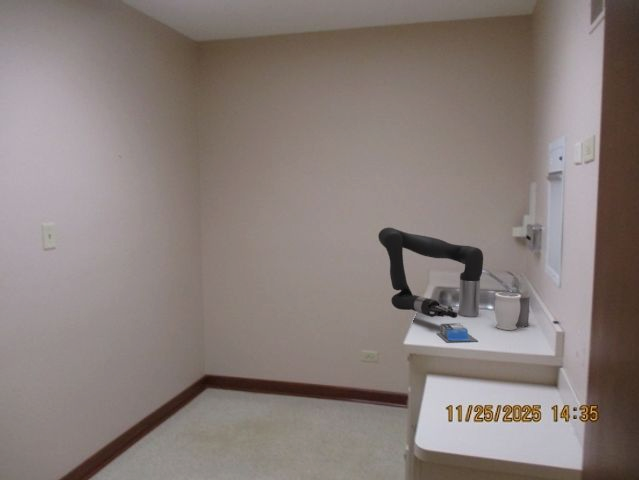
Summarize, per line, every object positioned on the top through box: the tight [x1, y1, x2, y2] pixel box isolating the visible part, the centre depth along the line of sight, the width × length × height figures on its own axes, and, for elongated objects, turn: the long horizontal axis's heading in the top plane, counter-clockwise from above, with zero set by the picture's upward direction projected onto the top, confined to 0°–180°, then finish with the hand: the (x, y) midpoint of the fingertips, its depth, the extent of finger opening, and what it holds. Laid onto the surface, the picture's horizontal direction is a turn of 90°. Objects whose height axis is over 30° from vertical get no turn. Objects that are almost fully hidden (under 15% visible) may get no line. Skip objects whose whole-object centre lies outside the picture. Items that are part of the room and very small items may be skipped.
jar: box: [494, 291, 521, 331], centre depth 207 cm, size 11×10×15 cm
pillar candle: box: [510, 291, 531, 328], centre depth 213 cm, size 10×10×15 cm
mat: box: [436, 332, 479, 344], centre depth 194 cm, size 12×13×1 cm
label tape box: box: [439, 322, 471, 341], centre depth 194 cm, size 9×4×12 cm
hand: (456, 315), depth 198 cm, fingers closed
